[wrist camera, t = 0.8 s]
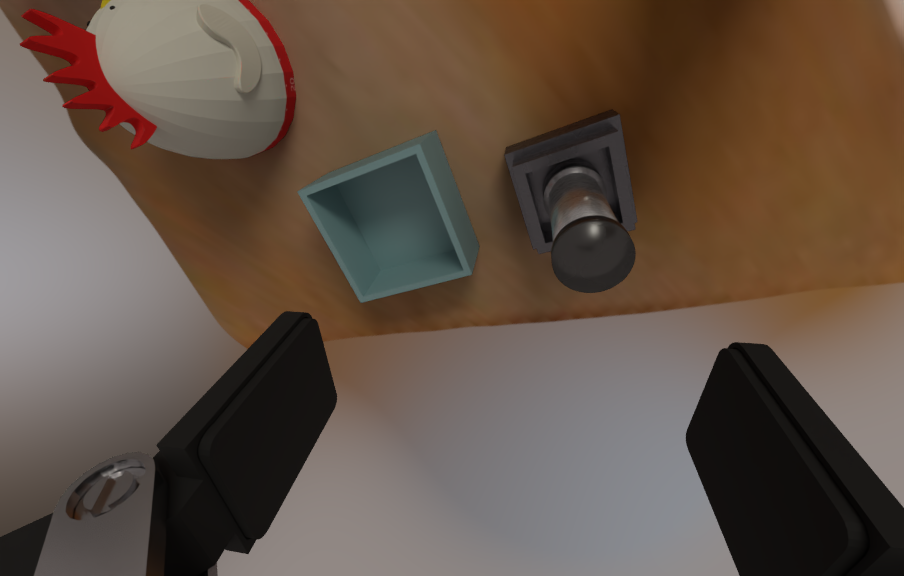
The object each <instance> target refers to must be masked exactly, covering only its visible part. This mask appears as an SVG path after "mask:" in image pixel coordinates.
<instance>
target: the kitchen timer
mask: <svg viewBox="0 0 904 576" xmlns="http://www.w3.org/2000/svg"><path fill="white" fill-rule="evenodd" d="M21 16H22V17H23V18H24V19H26V20H28V21H30V22H32V23H33V24H35V25H37V26H39V27H41V28H42V29H44V30H46V31H47V32H49V33H50V34H51V35H52V36H31V37H29V38H27V39H26V40H24V41H23V42H22V43H20V46H22V47H25V48H27V49H31V50H34V51H38V52H42V53H45V54H49V55H53V56H57V57H60V58H63V59H65V60H67V61H68V62H69V63H70V64H71V66H69V67H66V68H63V69H60V70H58V71H56V72H54V73H52V74H51V75H49V76H47V77H46V78H44V79H43V81H45V82H52V83H65V84H75V85H82V86H85V87H87V88H88V90H89V92H86V93H84V94H81V95H79V96H77V97H75V98H73V99H71V100H70V101H68V102H66V103H65V104H63V107H64V108H69V109H99V110H104V111H105V112H106V116H105V119H104V120H103V122H102V123H101V125H100V127H99V130H100V131H101V132H104V131H107V130H109V129H110V128H112V127H114V126H116V125H118V124H120V125H121V126H123V127H124V128H125V129H126V130H128V131H129V132H131V133H133V134H134V135H135V138H134V140H133V142H132V144H131V149H134V148H137V147H139V146H141V145H143V144H144V143H146V142H149V143H151V144H153V145H155V146H157V147H159V148H162V149H165V150H168V151H172V152H175V153H179V154H182V155H186V156H191V157H198V158H208V159H239V158H247V157H250V156H253V155H256V154H258V153H261V152H263V151H265V150H268V149H270V148H273V147H274V146H275V145H276V144H277V143H278V142H279V141H280V140H281V139H282V138H283V137H284V136H285V135H286V133H287V131H288V128H289V126H290V124H291V122H292V120H293V117H294V109H295V101H296V92H295V84H294V76H293V70H292V67H291V65H290V62H289V59H288V56H287V53H286V51H285V48H284V45H283V44H282V42H281V41H280V39H279V37H278V36H277V34H276V32H275V31H274V29H273V27H272V26H271V24H270V23H269V21H268V20H267V19H266V18H265V17H264V16H263V15H262V14H261V13H260V12H259V11H258V10H257V9H256V8H255V6H254V5H253V4H252V3H251V2H250V1H248V0H102V4H101V8H100V9H99V10H98V11H97V12H96V13H95V15H94V16H93V18H92V20H91V22H90V21H89V22H88V23H87V26H88V28H87V29H86V30H83V29H81V28H79V27H77V26H75V25H72V24H70V23H68V22H66V21H63V20H61V19H59V18H57V17H54V16H52V15H50V14H47V13H44V12H41V11H38V10H35V9H29V10H28V11H27V12H25V13H24V14H23V15H21Z"/></svg>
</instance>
